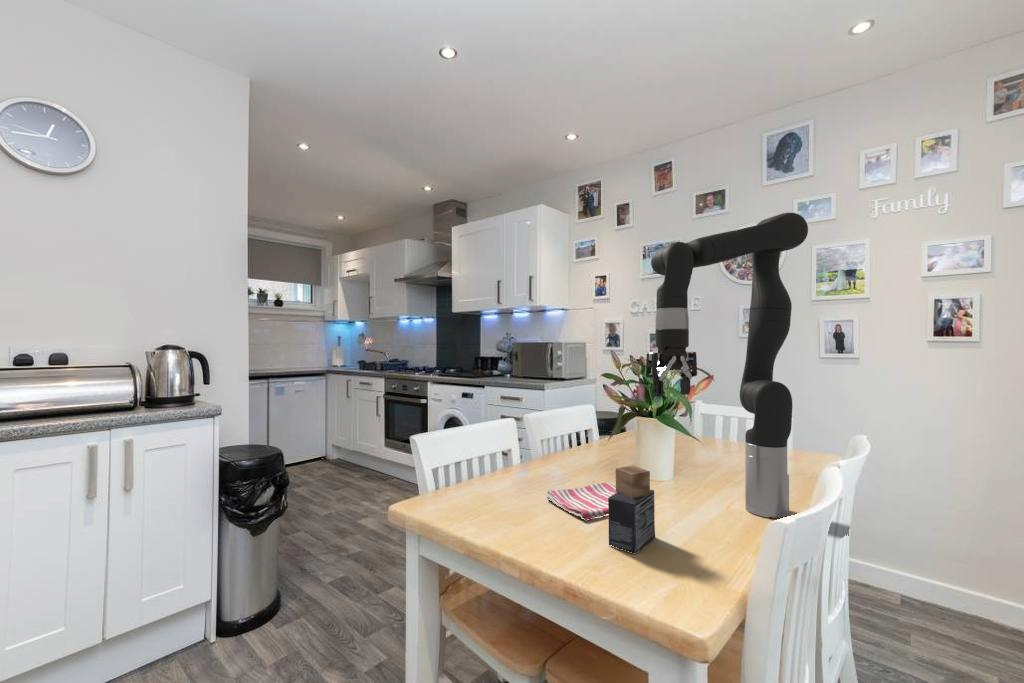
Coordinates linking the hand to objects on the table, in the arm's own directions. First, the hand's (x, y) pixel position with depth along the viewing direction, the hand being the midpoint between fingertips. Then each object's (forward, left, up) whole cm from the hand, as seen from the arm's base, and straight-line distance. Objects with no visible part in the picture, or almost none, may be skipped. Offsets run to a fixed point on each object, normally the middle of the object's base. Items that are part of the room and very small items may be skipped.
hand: (672, 395), depth 105 cm
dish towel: (+8, -18, -31) cm, 37 cm away
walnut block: (+16, +4, -20) cm, 26 cm away
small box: (+16, +4, -30) cm, 35 cm away
